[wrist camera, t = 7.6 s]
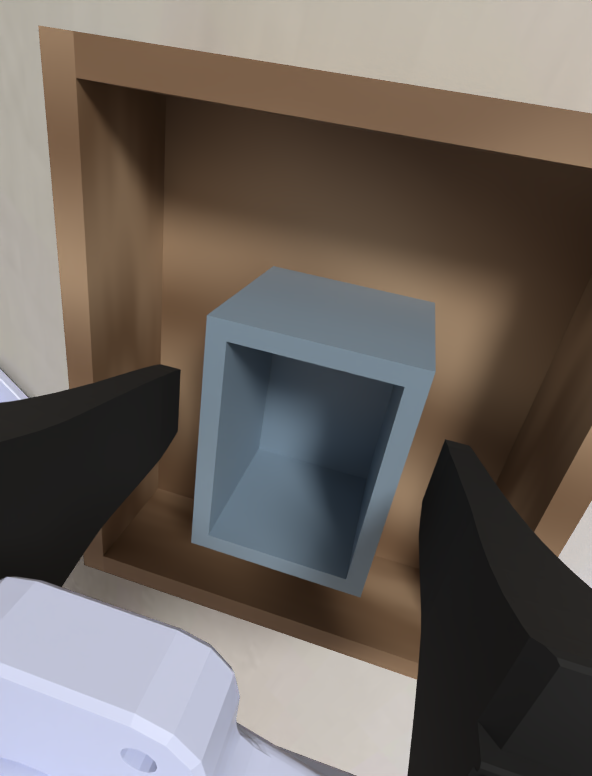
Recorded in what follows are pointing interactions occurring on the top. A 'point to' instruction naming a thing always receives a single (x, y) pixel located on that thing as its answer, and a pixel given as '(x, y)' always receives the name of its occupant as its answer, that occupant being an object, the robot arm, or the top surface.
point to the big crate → (329, 260)
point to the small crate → (308, 422)
